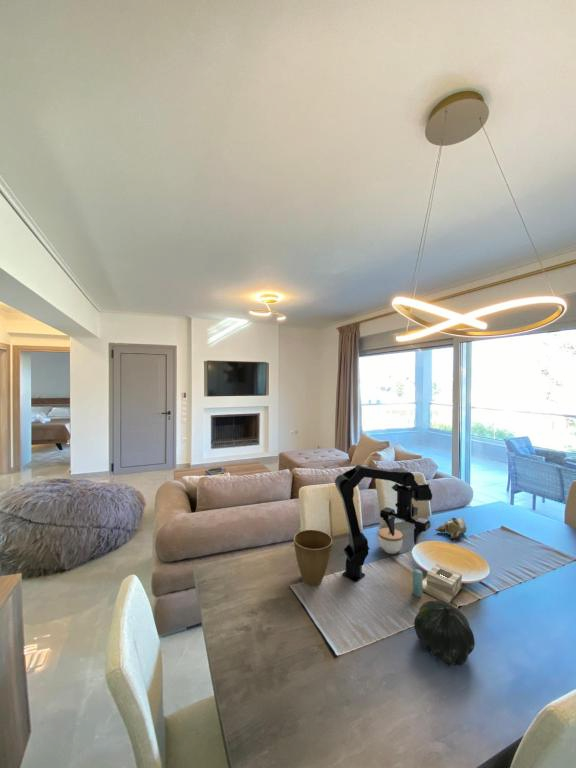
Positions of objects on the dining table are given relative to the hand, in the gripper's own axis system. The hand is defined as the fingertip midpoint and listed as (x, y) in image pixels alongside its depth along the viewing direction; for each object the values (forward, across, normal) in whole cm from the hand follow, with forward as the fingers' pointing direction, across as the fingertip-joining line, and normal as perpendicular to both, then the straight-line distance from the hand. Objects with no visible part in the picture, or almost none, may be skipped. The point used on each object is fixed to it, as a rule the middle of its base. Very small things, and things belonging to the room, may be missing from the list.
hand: (404, 539), depth 125 cm
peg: (+13, -9, +9) cm, 18 cm away
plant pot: (+14, +23, +30) cm, 40 cm away
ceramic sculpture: (+13, -4, -48) cm, 50 cm away
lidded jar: (+13, +12, -12) cm, 21 cm away
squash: (+13, -24, +28) cm, 39 cm away
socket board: (+13, -14, 0) cm, 19 cm away
